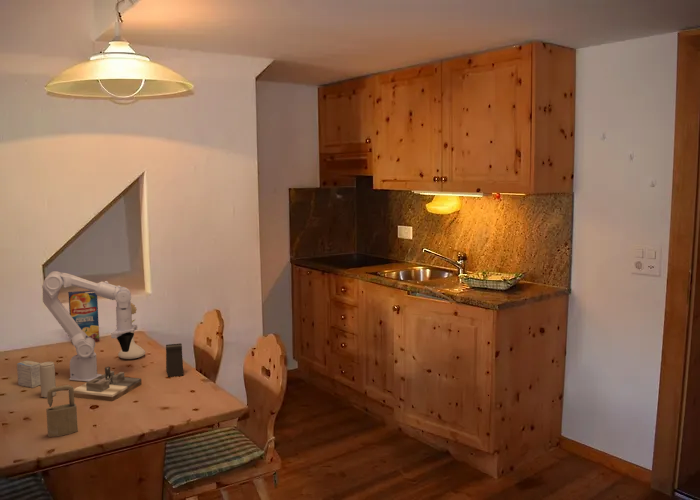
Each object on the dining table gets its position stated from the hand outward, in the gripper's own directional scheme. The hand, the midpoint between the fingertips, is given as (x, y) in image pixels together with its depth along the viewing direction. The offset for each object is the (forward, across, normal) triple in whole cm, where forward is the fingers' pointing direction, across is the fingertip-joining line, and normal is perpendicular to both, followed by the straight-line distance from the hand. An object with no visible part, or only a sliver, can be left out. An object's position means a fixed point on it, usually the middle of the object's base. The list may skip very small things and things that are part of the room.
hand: (125, 351), depth 241 cm
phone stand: (+10, +6, -18) cm, 21 cm away
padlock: (+10, -54, -14) cm, 57 cm away
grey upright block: (+10, -20, +28) cm, 36 cm away
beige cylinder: (+10, -28, +13) cm, 32 cm away
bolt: (+7, -20, -4) cm, 22 cm away
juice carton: (+10, +38, +48) cm, 62 cm away
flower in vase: (+10, +21, +12) cm, 26 cm away
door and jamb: (+9, -18, -4) cm, 21 cm away
